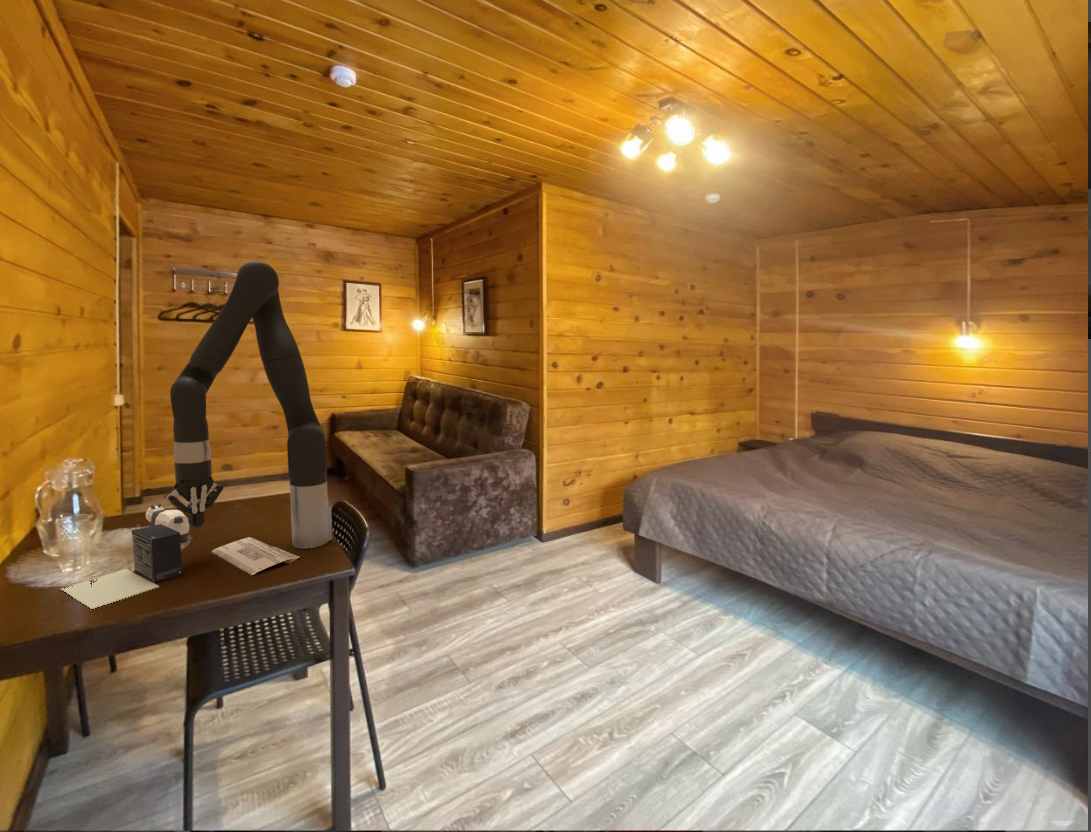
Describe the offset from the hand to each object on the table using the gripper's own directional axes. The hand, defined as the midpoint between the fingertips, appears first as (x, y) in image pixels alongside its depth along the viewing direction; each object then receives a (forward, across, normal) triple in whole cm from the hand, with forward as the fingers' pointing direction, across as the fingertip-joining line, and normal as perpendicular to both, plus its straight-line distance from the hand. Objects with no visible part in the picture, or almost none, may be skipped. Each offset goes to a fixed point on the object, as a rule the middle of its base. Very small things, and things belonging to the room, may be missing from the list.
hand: (197, 526), depth 130 cm
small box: (+9, -9, 0) cm, 13 cm away
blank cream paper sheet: (+9, -18, 0) cm, 20 cm away
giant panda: (+9, +2, +21) cm, 23 cm away
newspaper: (+10, +9, -9) cm, 16 cm away
